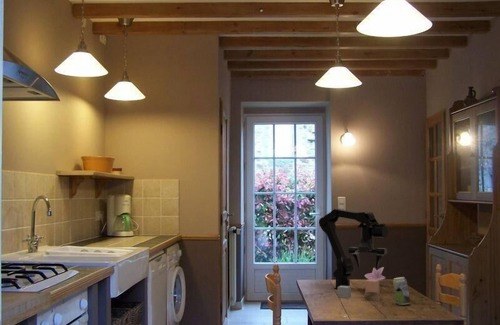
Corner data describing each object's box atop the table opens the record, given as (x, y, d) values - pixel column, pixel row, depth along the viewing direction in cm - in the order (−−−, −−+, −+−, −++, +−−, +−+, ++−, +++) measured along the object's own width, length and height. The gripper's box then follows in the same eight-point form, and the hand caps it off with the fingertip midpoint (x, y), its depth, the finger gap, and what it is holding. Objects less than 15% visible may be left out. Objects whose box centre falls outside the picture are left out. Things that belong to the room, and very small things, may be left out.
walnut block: (364, 300, 260) (364, 292, 260) (367, 298, 265) (367, 290, 265) (377, 301, 257) (377, 292, 258) (380, 299, 263) (380, 290, 263)
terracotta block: (365, 291, 261) (365, 280, 261) (368, 290, 265) (368, 279, 265) (376, 292, 258) (375, 281, 259) (379, 291, 263) (379, 280, 263)
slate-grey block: (337, 297, 268) (337, 287, 268) (341, 296, 272) (341, 285, 273) (347, 298, 265) (347, 287, 266) (351, 296, 270) (350, 286, 270)
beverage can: (411, 306, 245) (410, 278, 246) (393, 305, 247) (393, 278, 247) (409, 303, 251) (409, 276, 252) (392, 303, 253) (392, 276, 253)
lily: (363, 285, 310) (359, 271, 307) (382, 276, 312) (378, 262, 309) (374, 295, 299) (370, 281, 296) (393, 286, 301) (389, 271, 298)
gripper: (344, 237, 282) (344, 268, 281) (381, 238, 273) (381, 270, 272) (351, 236, 292) (352, 266, 291) (387, 237, 283) (387, 268, 282)
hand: (367, 267), depth 283 cm, fingers open, 9 cm apart
